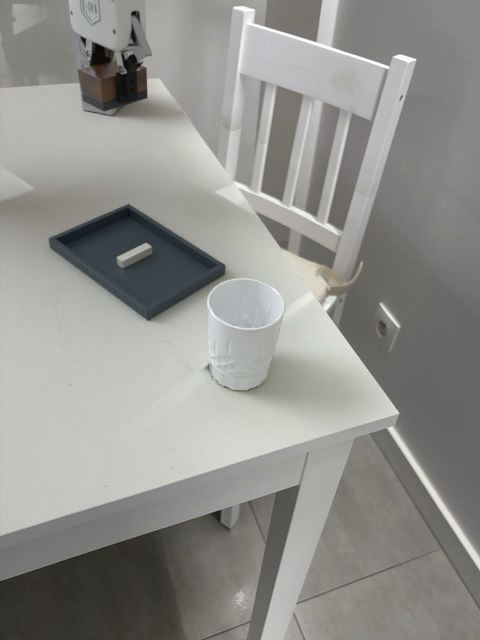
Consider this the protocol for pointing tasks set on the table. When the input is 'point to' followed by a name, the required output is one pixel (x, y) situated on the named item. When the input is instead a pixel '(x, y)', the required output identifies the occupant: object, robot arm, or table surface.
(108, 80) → the eraser
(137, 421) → the table surface
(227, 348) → the white cup
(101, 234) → the tray
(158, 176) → the table surface
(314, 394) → the table surface
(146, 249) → the chalk
